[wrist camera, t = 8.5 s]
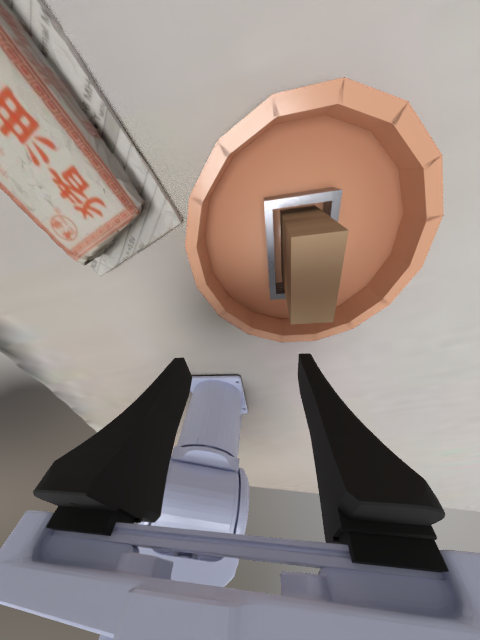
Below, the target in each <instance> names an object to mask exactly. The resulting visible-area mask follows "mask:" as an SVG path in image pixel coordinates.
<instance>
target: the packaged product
mask: <svg viewBox="0 0 480 640" xmlns="http://www.w3.org/2000/svg"><path fill="white" fill-rule="evenodd" d="M0 189H2V190H3V191H4V192H5V193H6V194H7V195H8V196H9V197H10V198H11V199H12V200H13V201H14V202H15V203H16V204H17V205H18V206H19V207H20V208H21V209H22V210H23V211H24V212H25V213H26V214H27V215H28V216H29V217H30V218H31V219H32V220H33V221H34V222H35V223H36V224H37V225H38V226H39V227H40V228H41V229H43V230H44V231H45V232H46V233H47V234H48V235H49V236H50V237H51V239H52V240H53V241H54V242H55V243H56V244H57V245H58V246H59V247H61V248H62V249H63V250H64V251H65V252H66V254H67V255H69V256H70V257H72V258H73V259H74V260H75V262H78V263H80V264H82V265H86V264H89V265H90V266H91V267H92V268H93V269H94V271H95V272H96V273H97V274H98V275H100V276H101V275H103V274H105V273H107V272H108V271H110V270H112V269H114V268H115V267H117V266H118V265H119V264H121V263H122V262H123V261H125V260H126V259H127V258H129V257H131V256H133V255H134V254H136V253H138V252H140V251H141V250H143V249H145V248H146V247H148V246H149V245H151V244H152V243H154V242H155V241H157V240H158V239H160V238H162V237H163V236H165V235H166V234H167V233H168V232H170V231H171V230H172V229H173V228H175V227H176V226H177V225H178V224H180V223H181V222H182V221H183V220H182V218H181V217H180V215H179V213H178V212H177V210H176V208H175V207H174V205H173V203H172V202H171V200H170V198H169V197H168V195H167V194H166V192H165V191H164V189H163V188H162V186H161V184H160V183H159V181H158V180H157V178H156V177H155V175H154V174H153V172H152V171H151V169H150V167H149V166H148V165H147V163H146V162H145V161H144V159H143V158H142V156H141V155H140V154H139V152H138V151H137V149H136V148H135V146H134V144H133V143H132V141H131V139H130V138H129V136H128V135H127V133H126V131H125V130H124V128H123V127H122V125H121V123H120V122H119V120H118V118H117V117H116V115H115V114H114V112H113V110H112V109H111V107H110V106H109V104H108V102H107V101H106V99H105V97H104V96H103V94H102V93H101V91H100V90H99V88H98V87H97V85H96V84H95V82H94V80H93V79H92V77H91V75H90V73H89V72H88V70H87V68H86V66H85V65H84V63H83V61H82V60H81V58H80V56H79V54H78V53H77V51H76V49H75V48H74V46H73V45H72V43H71V42H70V40H69V39H68V37H67V36H66V35H65V33H64V32H63V29H62V28H61V26H60V24H59V23H58V22H57V20H56V19H55V17H54V16H53V15H52V13H51V12H50V10H49V9H48V8H47V6H46V5H45V4H44V2H43V1H42V0H0Z"/></svg>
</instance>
